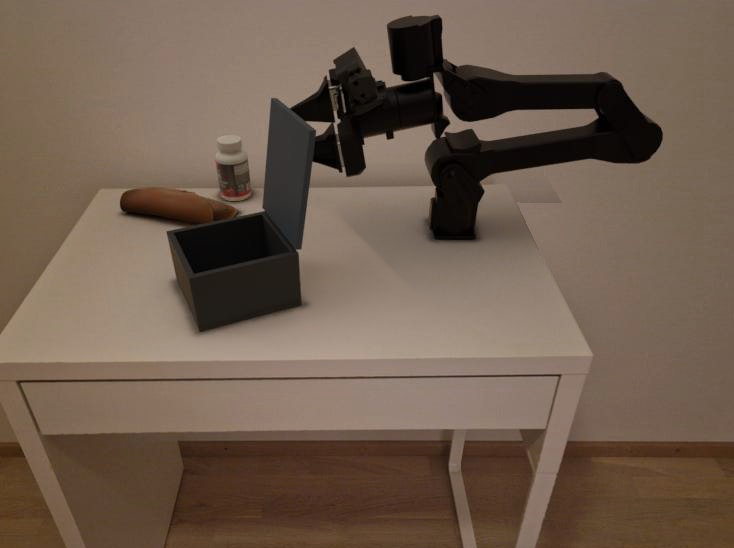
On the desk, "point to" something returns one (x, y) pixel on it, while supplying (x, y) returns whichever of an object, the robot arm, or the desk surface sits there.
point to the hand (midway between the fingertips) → (285, 132)
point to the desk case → (235, 269)
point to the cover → (288, 171)
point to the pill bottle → (232, 169)
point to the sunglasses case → (175, 205)
